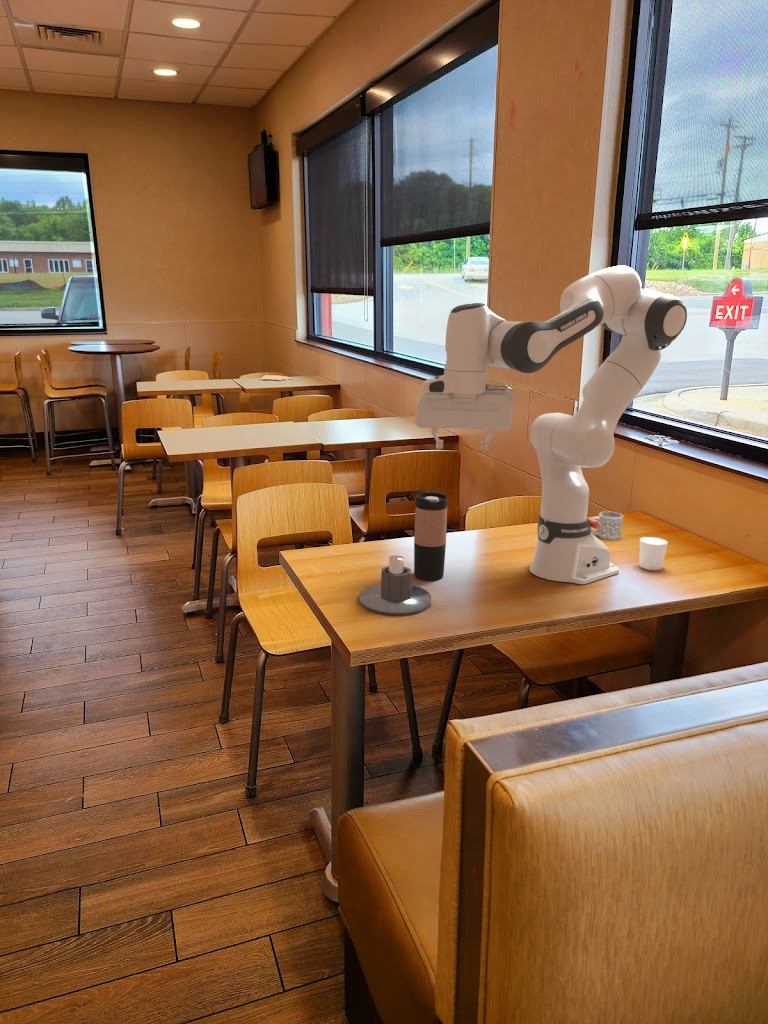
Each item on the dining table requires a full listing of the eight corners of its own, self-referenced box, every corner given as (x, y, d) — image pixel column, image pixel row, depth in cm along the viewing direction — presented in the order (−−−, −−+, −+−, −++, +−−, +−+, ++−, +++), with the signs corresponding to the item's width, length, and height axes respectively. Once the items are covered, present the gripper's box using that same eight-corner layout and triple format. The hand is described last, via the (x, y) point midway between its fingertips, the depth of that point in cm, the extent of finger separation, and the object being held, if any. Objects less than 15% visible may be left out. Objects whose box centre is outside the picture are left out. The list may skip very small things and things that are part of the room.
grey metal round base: (409, 584, 179) (410, 542, 176) (444, 608, 165) (446, 564, 162) (347, 594, 172) (348, 551, 169) (379, 620, 158) (380, 574, 155)
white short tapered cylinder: (655, 572, 190) (658, 546, 188) (631, 565, 195) (634, 539, 193) (669, 567, 194) (673, 541, 192) (646, 560, 199) (649, 534, 197)
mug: (615, 533, 222) (618, 511, 221) (624, 540, 216) (626, 517, 214) (582, 533, 222) (584, 511, 220) (590, 540, 215) (592, 517, 214)
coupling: (382, 590, 171) (382, 565, 170) (410, 591, 171) (411, 566, 169) (380, 600, 165) (380, 575, 163) (409, 602, 165) (410, 576, 163)
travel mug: (425, 568, 189) (428, 490, 184) (450, 575, 185) (454, 496, 179) (406, 576, 184) (409, 496, 178) (432, 583, 179) (435, 502, 174)
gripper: (513, 383, 160) (509, 448, 164) (416, 381, 161) (414, 445, 165) (516, 386, 154) (512, 453, 158) (416, 384, 155) (414, 450, 159)
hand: (461, 449), depth 161 cm, fingers open, 8 cm apart
